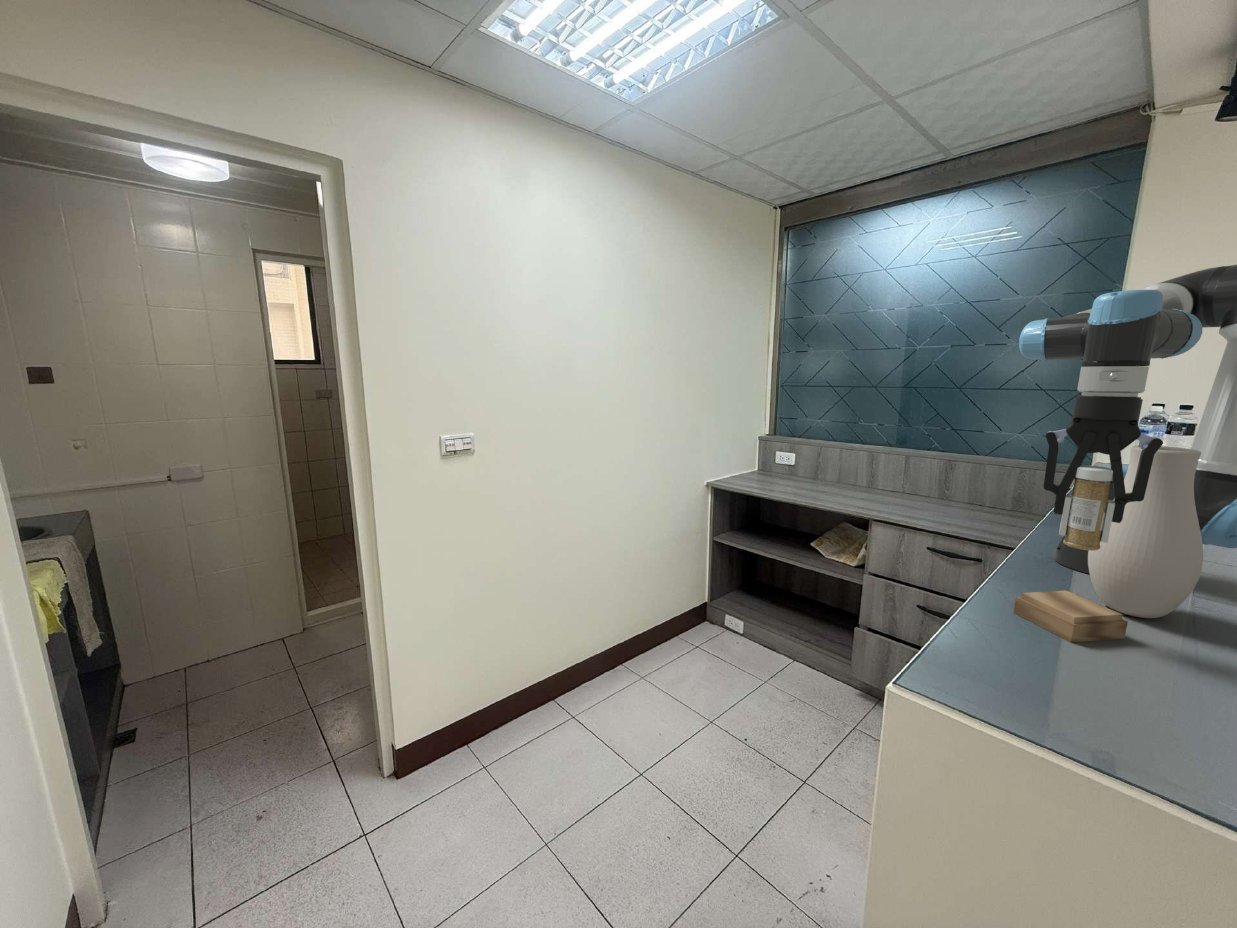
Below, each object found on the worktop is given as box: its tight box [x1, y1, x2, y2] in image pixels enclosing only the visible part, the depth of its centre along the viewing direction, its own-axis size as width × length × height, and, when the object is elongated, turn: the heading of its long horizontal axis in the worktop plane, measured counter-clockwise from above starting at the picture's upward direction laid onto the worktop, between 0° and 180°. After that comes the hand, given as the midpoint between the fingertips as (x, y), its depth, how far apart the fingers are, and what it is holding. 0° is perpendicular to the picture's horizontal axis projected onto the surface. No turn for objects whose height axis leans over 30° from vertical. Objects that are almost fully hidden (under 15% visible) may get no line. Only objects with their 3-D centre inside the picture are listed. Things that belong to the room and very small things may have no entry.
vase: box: [1088, 444, 1204, 619], centre depth 86 cm, size 14×14×30 cm
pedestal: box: [1013, 590, 1129, 643], centre depth 83 cm, size 10×10×4 cm
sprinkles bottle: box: [1063, 464, 1113, 551], centre depth 80 cm, size 5×5×14 cm
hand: (1082, 536), depth 81 cm, fingers closed on sprinkles bottle, 4 cm apart
